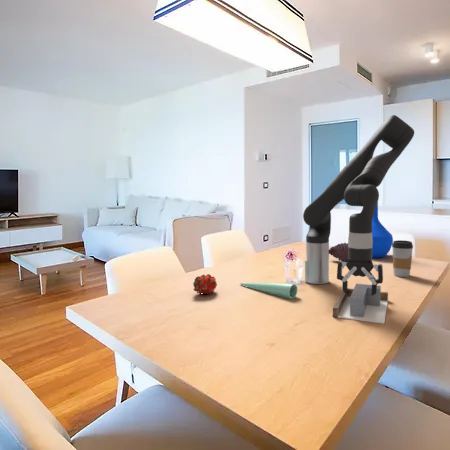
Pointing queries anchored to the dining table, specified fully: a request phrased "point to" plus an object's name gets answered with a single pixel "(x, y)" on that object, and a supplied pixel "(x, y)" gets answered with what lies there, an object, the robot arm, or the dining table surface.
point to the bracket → (363, 299)
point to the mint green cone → (275, 288)
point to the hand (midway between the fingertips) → (359, 293)
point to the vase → (380, 237)
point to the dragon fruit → (205, 284)
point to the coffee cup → (402, 257)
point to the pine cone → (340, 252)
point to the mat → (370, 315)
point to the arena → (343, 296)
